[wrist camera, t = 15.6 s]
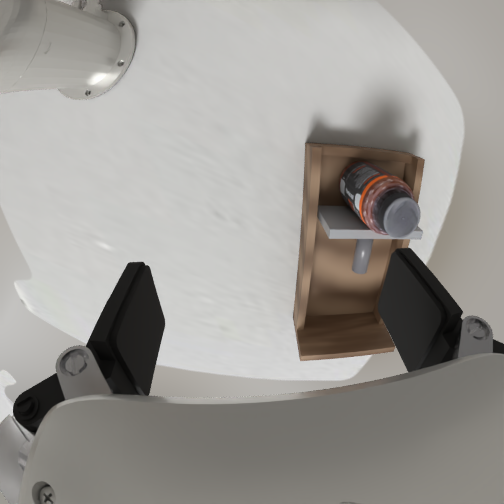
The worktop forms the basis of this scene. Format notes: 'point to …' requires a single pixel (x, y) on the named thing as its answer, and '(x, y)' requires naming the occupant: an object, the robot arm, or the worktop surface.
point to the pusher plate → (354, 232)
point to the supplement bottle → (379, 199)
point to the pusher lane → (342, 260)
